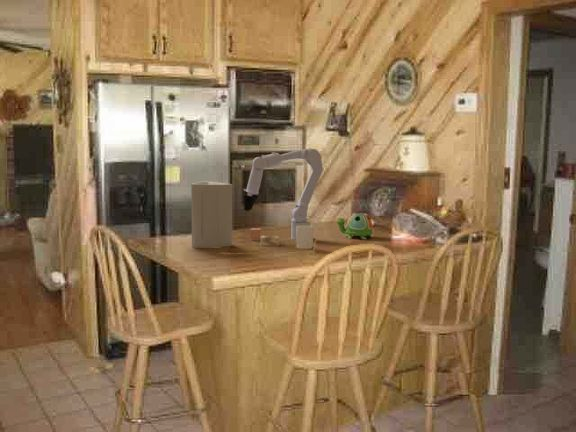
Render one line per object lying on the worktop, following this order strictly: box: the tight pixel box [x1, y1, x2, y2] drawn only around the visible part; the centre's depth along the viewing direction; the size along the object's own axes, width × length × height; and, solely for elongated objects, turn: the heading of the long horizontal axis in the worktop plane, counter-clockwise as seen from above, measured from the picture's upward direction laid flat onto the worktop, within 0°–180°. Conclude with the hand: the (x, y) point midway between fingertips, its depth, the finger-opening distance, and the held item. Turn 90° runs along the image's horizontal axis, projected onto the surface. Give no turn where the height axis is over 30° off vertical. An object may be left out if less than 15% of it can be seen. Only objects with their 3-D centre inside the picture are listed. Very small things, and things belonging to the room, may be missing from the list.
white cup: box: [295, 225, 315, 250], centre depth 263 cm, size 8×8×10 cm
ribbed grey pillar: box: [190, 181, 233, 249], centre depth 267 cm, size 19×15×28 cm
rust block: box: [249, 227, 262, 241], centre depth 282 cm, size 4×4×5 cm
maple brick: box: [259, 235, 280, 247], centre depth 270 cm, size 8×5×4 cm, turn 86°
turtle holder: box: [336, 212, 374, 240], centre depth 295 cm, size 12×18×12 cm
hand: (247, 209), depth 282 cm, fingers open, 7 cm apart
